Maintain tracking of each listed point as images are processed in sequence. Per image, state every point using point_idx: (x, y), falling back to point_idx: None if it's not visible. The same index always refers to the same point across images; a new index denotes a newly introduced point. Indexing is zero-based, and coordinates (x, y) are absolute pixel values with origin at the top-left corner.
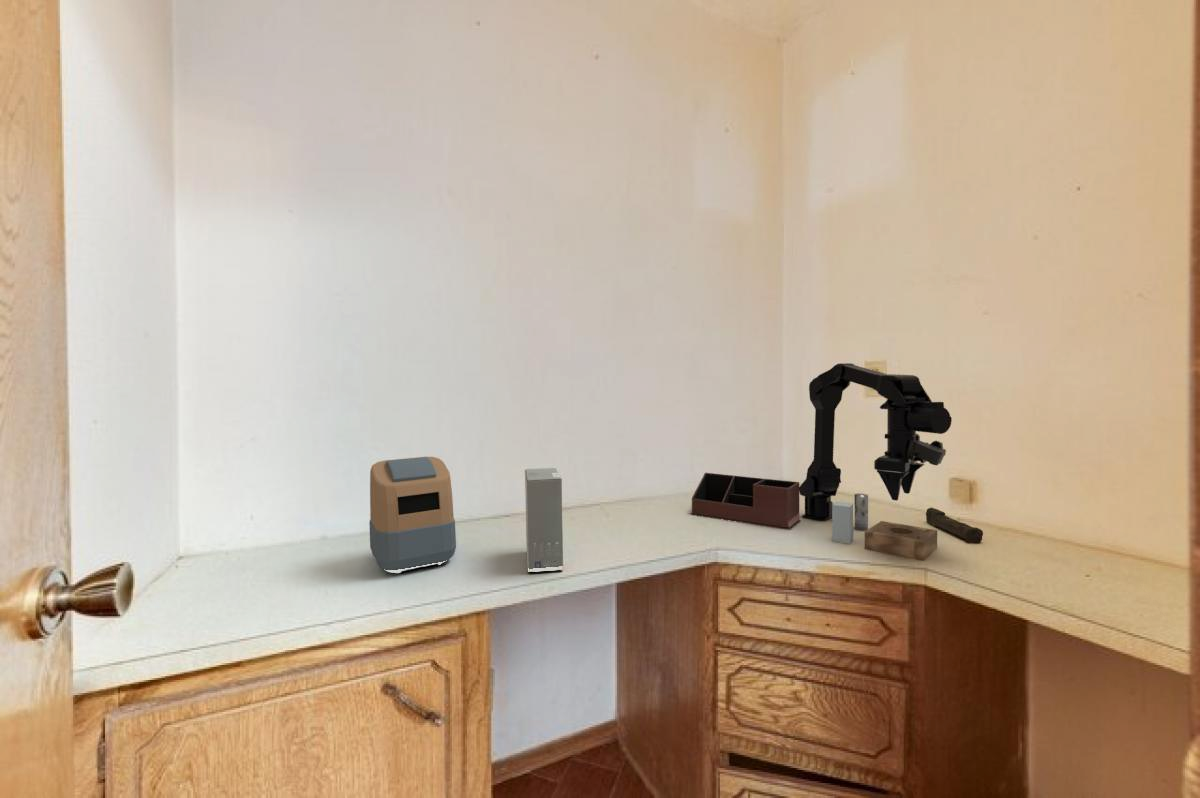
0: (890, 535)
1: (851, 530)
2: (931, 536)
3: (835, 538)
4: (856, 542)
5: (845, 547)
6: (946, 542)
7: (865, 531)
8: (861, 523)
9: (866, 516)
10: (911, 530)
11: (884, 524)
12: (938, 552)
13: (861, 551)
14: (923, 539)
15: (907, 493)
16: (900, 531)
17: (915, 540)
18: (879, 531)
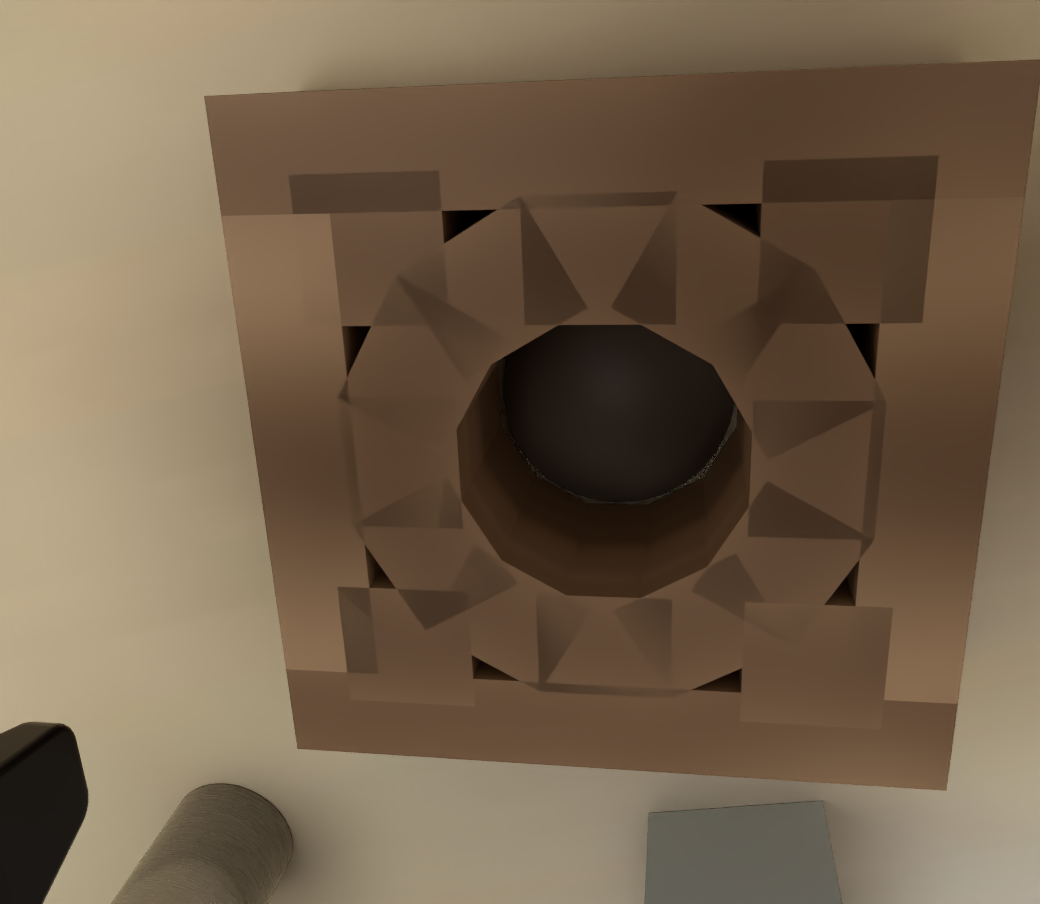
0: (937, 515)
1: (751, 900)
2: (549, 81)
3: None
4: None
5: (973, 808)
6: (33, 60)
7: (933, 784)
8: (256, 875)
9: (179, 899)
10: (486, 367)
11: (436, 687)
12: (498, 18)
13: (1020, 665)
14: (873, 107)
15: (77, 746)
16: (473, 486)
17: (1009, 184)
18: (821, 662)
